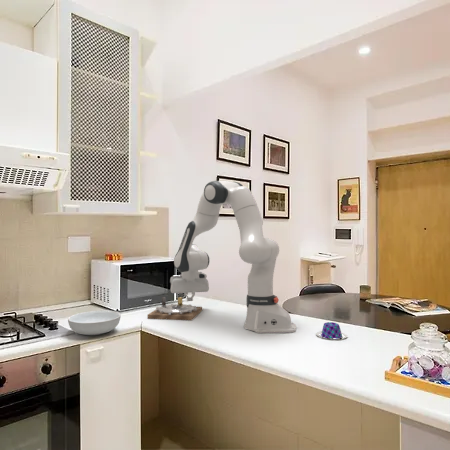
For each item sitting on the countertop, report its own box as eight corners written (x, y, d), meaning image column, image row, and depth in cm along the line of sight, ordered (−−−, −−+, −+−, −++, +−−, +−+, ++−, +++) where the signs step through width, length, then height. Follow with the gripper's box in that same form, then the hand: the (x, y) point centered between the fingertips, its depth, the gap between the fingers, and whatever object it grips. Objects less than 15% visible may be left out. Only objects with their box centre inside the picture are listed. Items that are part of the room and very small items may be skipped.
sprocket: (200, 306, 196) (200, 296, 196) (190, 315, 175) (190, 304, 175) (163, 305, 199) (163, 295, 199) (149, 313, 178) (149, 303, 178)
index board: (202, 310, 196) (202, 297, 196) (191, 320, 174) (191, 305, 174) (162, 309, 200) (162, 296, 200) (147, 318, 178) (147, 304, 178)
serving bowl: (56, 337, 147) (56, 320, 148) (90, 324, 167) (90, 309, 168) (100, 341, 141) (100, 323, 141) (130, 327, 161) (130, 312, 161)
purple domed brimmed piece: (349, 342, 140) (349, 328, 140) (317, 340, 142) (316, 326, 143) (345, 333, 152) (344, 320, 152) (315, 332, 154) (315, 319, 154)
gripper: (170, 276, 190) (170, 303, 190) (209, 274, 195) (209, 301, 195) (169, 274, 196) (169, 300, 196) (207, 273, 201) (207, 298, 201)
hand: (189, 300), depth 195 cm, fingers closed
